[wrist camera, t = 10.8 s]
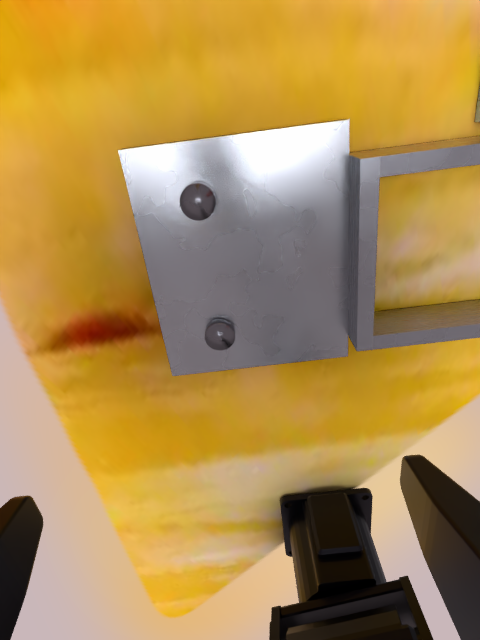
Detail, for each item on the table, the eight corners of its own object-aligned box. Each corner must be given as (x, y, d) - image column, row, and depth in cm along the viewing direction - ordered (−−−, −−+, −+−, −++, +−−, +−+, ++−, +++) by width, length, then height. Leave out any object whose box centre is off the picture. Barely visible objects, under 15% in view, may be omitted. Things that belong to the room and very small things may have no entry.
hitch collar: (504, 330, 23) (534, 354, 21) (174, 368, 24) (168, 394, 21) (556, 91, 17) (604, 88, 15) (122, 148, 18) (107, 154, 16)
